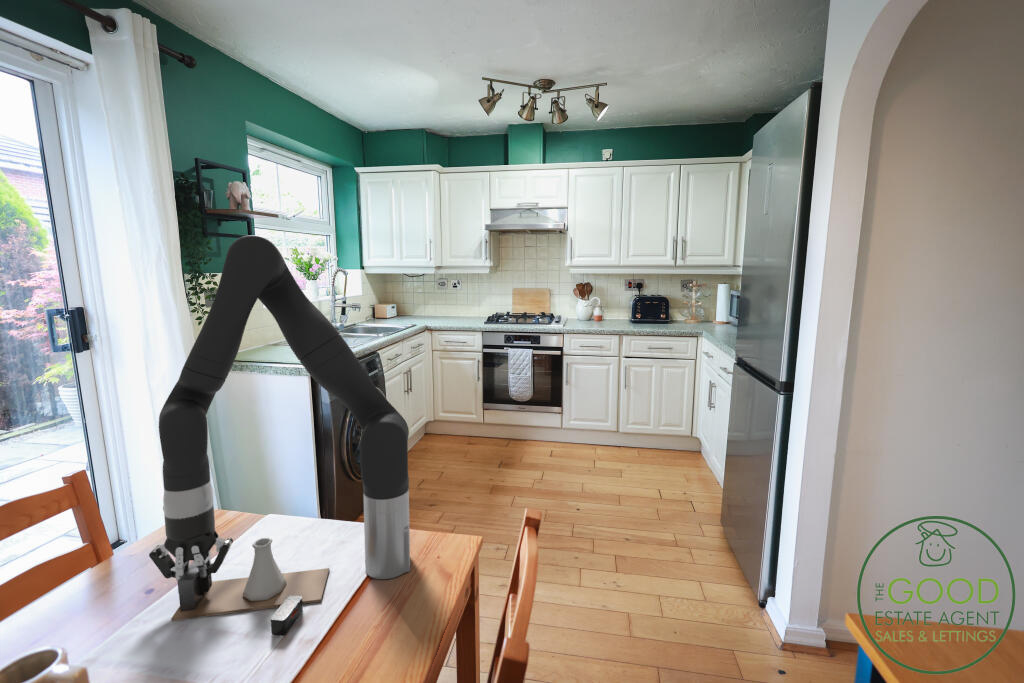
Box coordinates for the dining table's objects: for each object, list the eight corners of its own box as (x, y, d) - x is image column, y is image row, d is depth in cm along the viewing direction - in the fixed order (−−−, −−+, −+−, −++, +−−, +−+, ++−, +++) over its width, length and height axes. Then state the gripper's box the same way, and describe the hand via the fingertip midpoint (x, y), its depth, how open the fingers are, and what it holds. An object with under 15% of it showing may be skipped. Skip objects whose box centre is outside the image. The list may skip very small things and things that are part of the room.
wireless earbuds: (306, 609, 87) (305, 593, 87) (285, 638, 80) (284, 620, 80) (282, 608, 87) (281, 592, 87) (259, 636, 80) (258, 619, 80)
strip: (329, 570, 99) (328, 541, 98) (321, 601, 89) (319, 569, 88) (195, 585, 93) (193, 554, 92) (171, 620, 83) (168, 586, 83)
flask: (268, 605, 87) (265, 554, 86) (234, 599, 88) (231, 549, 87) (293, 581, 94) (291, 534, 93) (262, 576, 95) (259, 530, 94)
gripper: (238, 494, 92) (242, 577, 94) (156, 501, 88) (163, 586, 90) (223, 513, 84) (229, 602, 86) (134, 520, 81) (142, 612, 83)
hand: (195, 593), depth 88 cm, fingers closed on strip, 2 cm apart
